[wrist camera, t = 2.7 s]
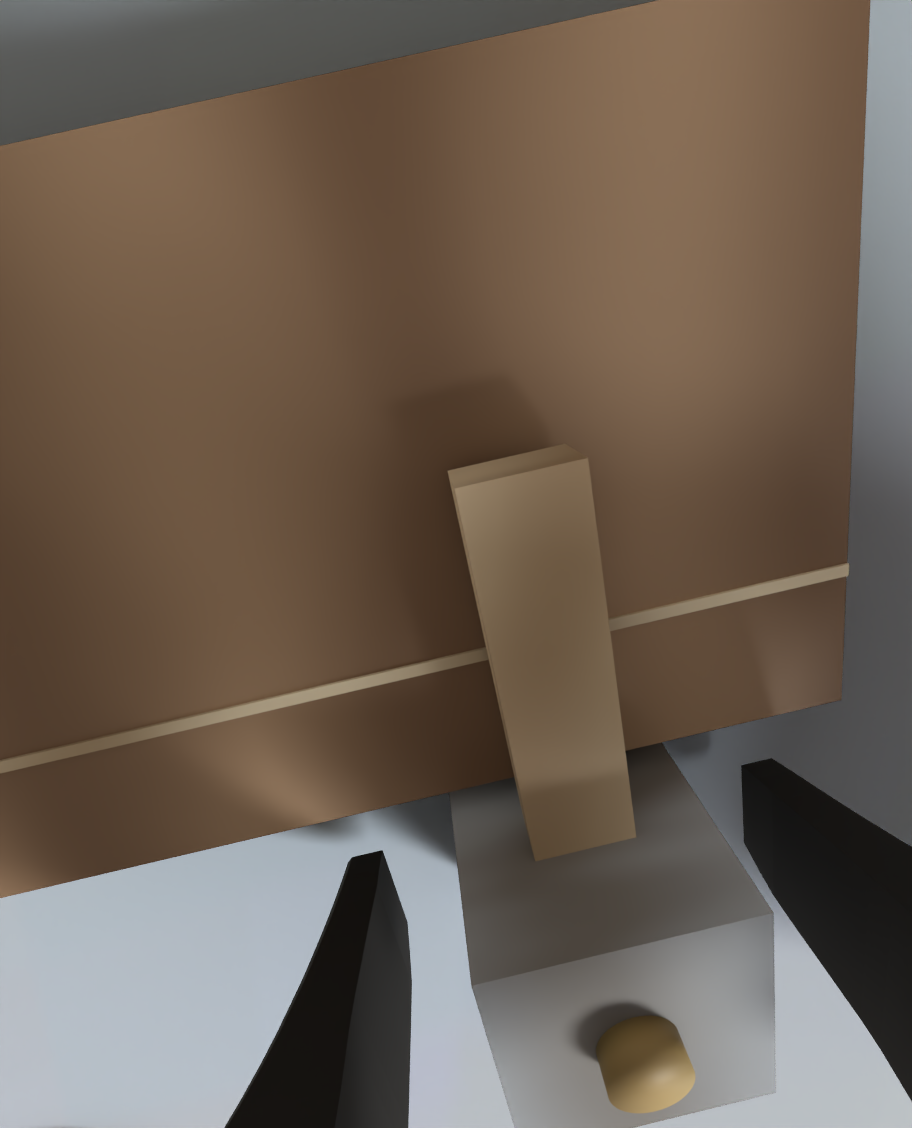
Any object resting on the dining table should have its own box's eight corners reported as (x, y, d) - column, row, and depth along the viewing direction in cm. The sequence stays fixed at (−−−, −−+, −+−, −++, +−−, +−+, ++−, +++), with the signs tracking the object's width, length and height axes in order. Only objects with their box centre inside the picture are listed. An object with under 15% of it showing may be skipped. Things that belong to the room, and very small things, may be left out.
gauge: (596, 404, 10) (802, 473, 5) (647, 837, 14) (796, 1133, 9) (366, 457, 10) (336, 580, 5) (479, 877, 14) (529, 1198, 9)
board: (766, 37, 8) (876, -51, 6) (773, 644, 12) (843, 701, 10) (-929, 415, 8) (-1337, 440, 6) (-395, 917, 12) (-547, 1029, 10)
